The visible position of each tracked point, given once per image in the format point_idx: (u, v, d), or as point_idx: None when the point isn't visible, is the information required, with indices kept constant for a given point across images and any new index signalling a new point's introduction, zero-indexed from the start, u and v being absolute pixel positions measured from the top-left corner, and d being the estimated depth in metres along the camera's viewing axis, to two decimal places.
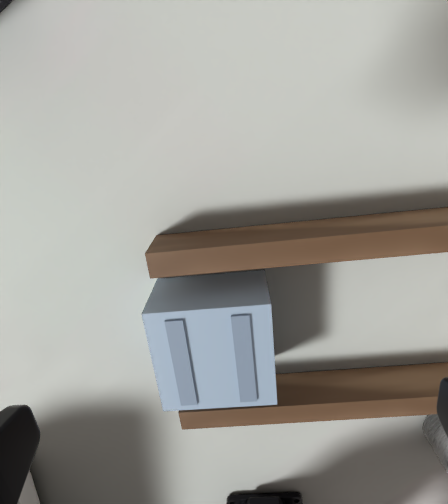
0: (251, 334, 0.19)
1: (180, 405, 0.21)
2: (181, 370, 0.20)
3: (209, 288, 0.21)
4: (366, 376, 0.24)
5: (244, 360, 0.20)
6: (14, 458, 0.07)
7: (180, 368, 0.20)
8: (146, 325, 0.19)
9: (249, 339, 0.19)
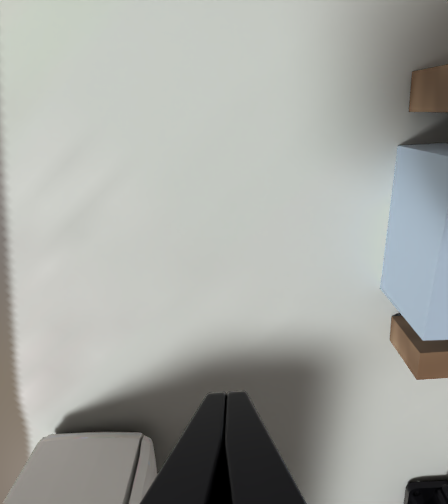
0: None
1: None
2: None
3: None
4: None
5: None
6: None
7: None
8: None
9: None
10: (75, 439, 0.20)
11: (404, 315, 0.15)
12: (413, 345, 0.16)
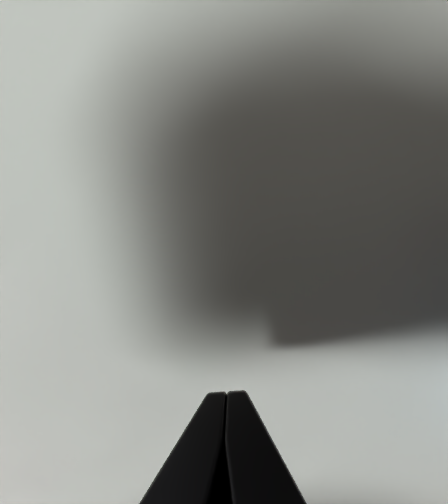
0: None
1: None
2: None
3: None
4: None
5: None
6: None
7: None
8: None
9: None
10: None
11: None
12: None
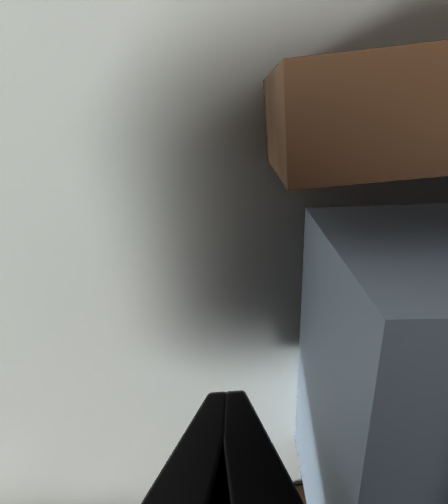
0: None
1: None
2: None
3: None
4: None
5: None
6: None
7: None
8: (388, 377, 0.04)
9: None
10: None
11: None
12: None
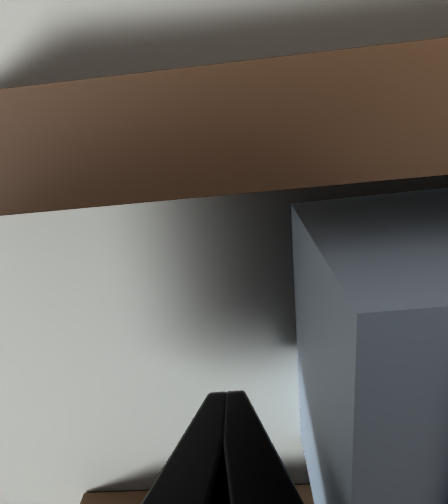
0: None
1: None
2: None
3: None
4: None
5: None
6: None
7: None
8: (367, 372, 0.04)
9: None
10: None
11: None
12: None
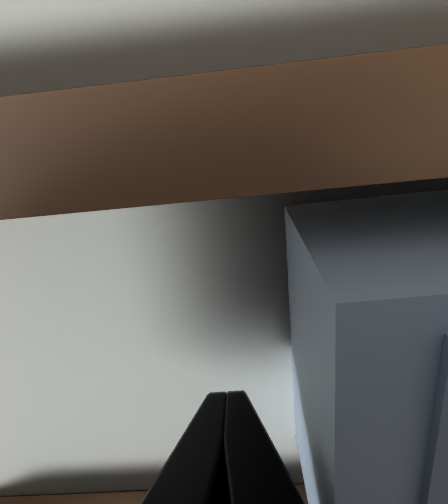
0: None
1: None
2: None
3: None
4: None
5: None
6: None
7: None
8: (346, 357, 0.04)
9: None
10: None
11: None
12: None
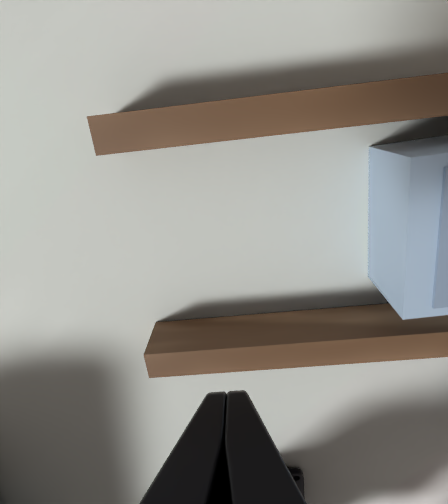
0: None
1: (429, 309, 0.15)
2: None
3: None
4: (385, 311, 0.19)
5: None
6: None
7: None
8: (413, 177, 0.13)
9: None
10: None
11: (387, 298, 0.17)
12: (146, 348, 0.19)
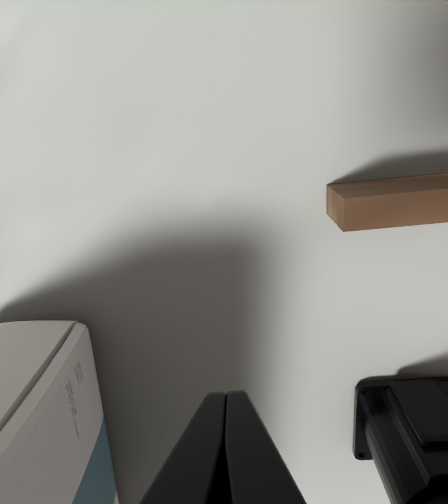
0: None
1: None
2: None
3: None
4: None
5: None
6: None
7: None
8: None
9: None
10: (7, 324, 0.20)
11: None
12: (340, 196, 0.15)
